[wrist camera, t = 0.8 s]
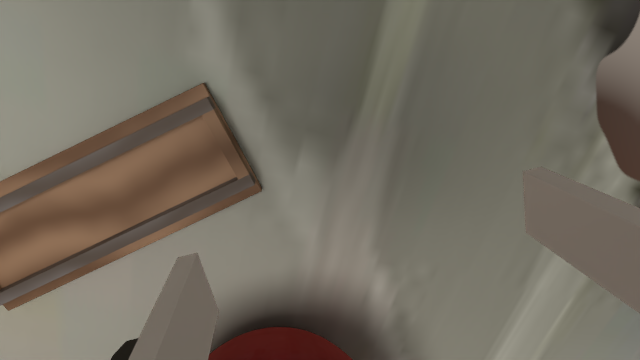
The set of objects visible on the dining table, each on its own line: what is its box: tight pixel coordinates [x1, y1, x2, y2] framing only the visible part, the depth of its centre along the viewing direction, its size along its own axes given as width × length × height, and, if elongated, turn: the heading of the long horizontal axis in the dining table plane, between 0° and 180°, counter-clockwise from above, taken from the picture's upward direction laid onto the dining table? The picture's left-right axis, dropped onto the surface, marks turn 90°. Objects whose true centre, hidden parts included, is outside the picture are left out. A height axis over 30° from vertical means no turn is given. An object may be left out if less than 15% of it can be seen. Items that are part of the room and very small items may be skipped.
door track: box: [0, 83, 262, 311], centre depth 38 cm, size 12×30×2 cm, turn 115°
